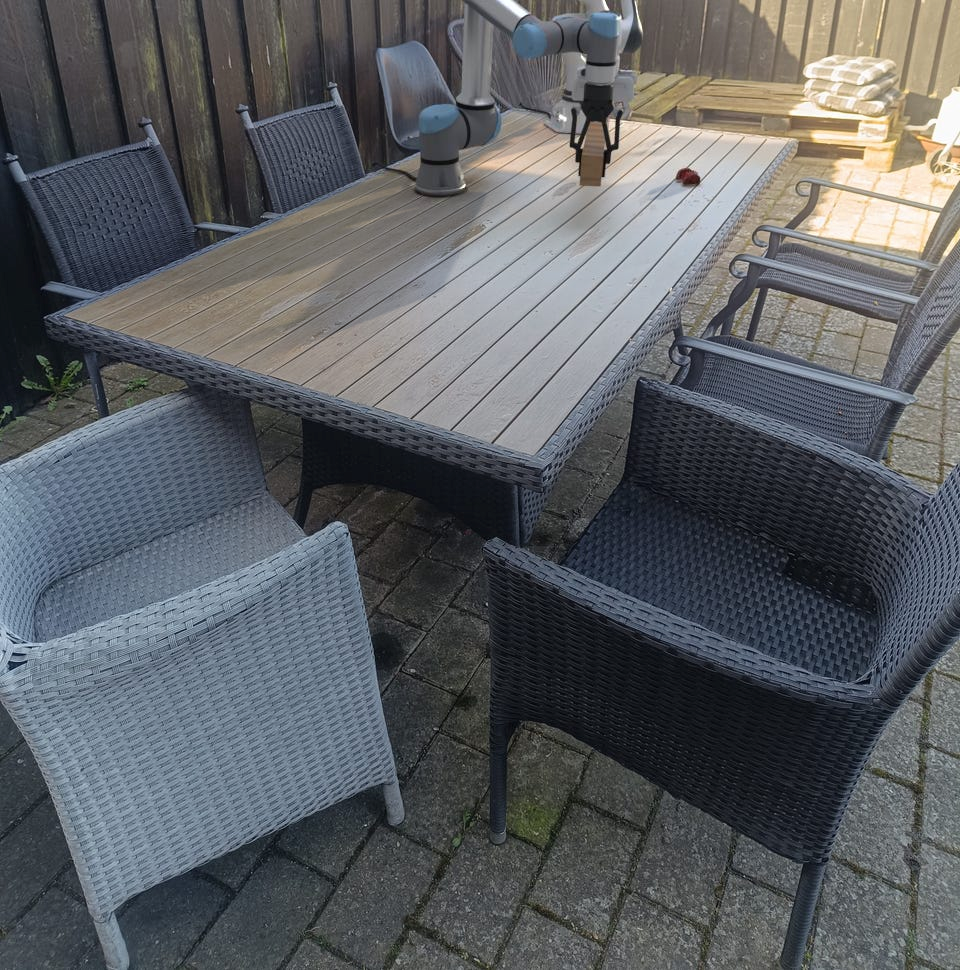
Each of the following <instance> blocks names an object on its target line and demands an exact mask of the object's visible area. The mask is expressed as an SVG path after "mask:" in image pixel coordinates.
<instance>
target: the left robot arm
mask: <svg viewBox="0 0 960 970" xmlns="http://www.w3.org/2000/svg"><path fill="white" fill-rule="evenodd" d="M461 2H464V4H463V5H464V6H463V27H462V28H463V30H462V31H463V32H462V61H461V62H462V63H461V65H462V66H461V90H460V91H461V92H460V94H458V95H457V96H456V98H455V104H453V103H452V104H451V103H441V104H434V105H430V106H428V107H426V108H424V109H422V110H421V111H420V112H419V116H418V132H419V133H418V134H419V157H420V158H419V159H420V161H419V162H420V164H419V168H418V172H417V176H416V177H415V176H414V175H412V174H411V173H410V172H408V171H406V170H402V169H398V168H393V167H392V168H391V167H388V166H385V165H384V164H382V163H381V162H378V161H375V162H373V163H372V164H371V167H375V166H376V165H378V166H379V167H381V168H383V169H384V170H387V171H390V172H395V173H401V174H404V175H406V176H408V177H409V178H410V179H412V180H414V181H415V183H414V184H415V185H414V186H415V192H417V193H418V194H420V195H424V196H430V197H450V196H455V195H459V194H461V193H463V192H464V191H466V181H465V179H464V178H465V176H464V173H463V172H462V169H461V165H460V151H462V150H466V149H471V148H476V147H484V146H485V145H487V144H488V145H489V144H491V143H492V142H494V141H495V140H496V139H497V138H498V137H499V134H500V132H501V129H502V122H503V121H502V114H501V113H500V108H499V107H498V105H497V104H495V101H496V100H495V98H494V97H493V95H491V82H492V66H493V65H492V63H493V44H494V27H495V28H496V29H498V31H499V32H501V33H502V34H504V35H505V36H507V37H508V38H509V39H510V40H511V41H512V46H513V49H514V50H515V53H516V54H517V56H518V57H520V58H522V59H537V58H541V57H547V56H553V55H554V56H555V55H561V53H568V52H577V53H582V55H585V56H586V57H585V58H586V70H585V81H587V82H586V83H585V84H584V97H583V102H582V104H581V105H580V106H577V107H575V106H573V107H572V109H571V113H572V127H571V133H570V135H569V136H570V137H569V145H568V146H569V148H571V149H574V150H575V158H574V162H575V163H576V164H578V174H577V175H578V176H577V177H580V171H581V158H582V152H583V148H582V146H583V144H584V142H585V138H586V132H587V130H588V127H589V124H590V122H595V121H597V122H602V127H603V132H604V137H605V142H606V150H604V159H603V170H602V179H603V178H605V177H606V166H607V165H610V164H611V162H612V161H611V160H612V153H613V151H617V150H619V148H620V132H621V131H620V129H621V119H622V117H623V114H624V109H623V108H622V107H620V108H619V107H617V108H616V107H615V105H614V102H613V90H614V85H613V83H612V82H614V79H615V69H616V55H617V46H618V38H619V17H618V15H616V14H614V13H604V12H600V13H593V14H591V15H590V18H589V21H588V20H583V19H577V18H573V17H559V18H557V19H556V20H555V21H551V20H548V21H543V20H541V19H539V18H538V17H536V16H535V15H533V14H532V13H531V12H530V11H529V10H527V9H526V8H524V7H523V6H522V5H521V4H519V3H518V2H517V1H515V0H461ZM581 110H582V111H583V113H584V115H585V116H586V120H585V123H584V126H583V129H582V132H581V134H579V138H578V140H577V142H575V141H576V126H577V116H578V115H579V114H580V111H581ZM612 111H613V112H614V116H613V117H614V118H615V120H614V121H615V123H614V140H613V141H614V142H613V144H612V141H611V136H610V129H609V128H608V124H607V117H608V116H609V115H610V113H611V112H612Z"/></svg>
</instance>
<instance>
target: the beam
mask: <svg viewBox="0 0 960 970" xmlns="http://www.w3.org/2000/svg"><path fill="white" fill-rule="evenodd" d="M610 120H611V116H610V115H609V116H608V117H607V124H608V129H609V128H610ZM582 149H583V152H582V158H581V171H580V176H579V186H585V187H602V180H603V177H602V170H603V159H604V150H607V148H606V142H605V137H604V132H603V127H602V122H597V121H595V122H590V124H589V127H588V130H587V133H586V135H585V138H584V141H583V148H582Z"/></svg>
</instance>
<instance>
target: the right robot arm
mask: <svg viewBox="0 0 960 970" xmlns="http://www.w3.org/2000/svg"><path fill="white" fill-rule="evenodd" d="M577 1H578V2H579V3H581V4H583V5H584V6H585V12H582V13H581V12H579V13H577V12H576V13H563V14H559V15H555V16H553V17H552V19H551V20H550V21H555V20H556V19H557V18H559V17H573V18H577V19H583V20H588V21H589V18H590V15H591V14H593V13H600V12H604V13H614V14H616V15H618V17H619V38H618V46H617V55H616V69H615V79H614V82H612V83H613V85H614V90H613V105H614V107H616V108H619V103H632V102H633V101H634V100H635V86H636V84H637V80H638V75H637V73H636V72H635V71H634V70H632V69H629V70H626V69H620V60H621V57H620V54H622V55H630V56H631V55H633V54H635V53H636V52H637V51H638V50H639V49H640V48H641V47H642V44H643V39H644V38H643V37H644V33H643V28H642V23H641V20H640V16H639V12H638V7H637V2H636V1H637V0H619V1H620V7H621V9H622V11H621V12H622V15H621V13H620V12H618V11H616V10H610V8H609V7H608V5H607V3H606V0H577ZM622 16H623V18H622ZM560 55H561V56H562V59H563V63H564V68H565V88H563V91H561V94H562V96H561V100H560V101H558V103H556V104H555V105H554V106H553V107H552V109H551V112H549V111H546V110H540V109H536V108H531V107H527V106H525V105H524V103H523V101H520V102H519V104H518V106H519V107H521V108H522V110H523V109H524V110H526V111H530V112H534V113H539V114H543V115H544V114H545V115H548V117H549V119H547V120H545V121H544V123H543V124H544V125H545V126H546V127H548V128H549V129H551V130H552V131H554V132H556V133H562V134H563V133H564V134H565V133H566V134H571V127H572V113H571V109H572V107H573V106H575V107H577V106H580V105H581V104H582V102H583V97H584V84H585V83H586V82H587V81H585V70H586V57H585V56H583V53H577V52H568V53H561V54H560ZM610 117H614V112H613V111H612V112H611V113H610ZM585 120H586V116H585V115H584V113H583V111H582V110H581V111H580V114H579V115H578V116H577V126H576V134H579V135H581V132H582V129H583V126H584V123H585ZM586 133H587V132H586ZM576 134H575V135H576Z"/></svg>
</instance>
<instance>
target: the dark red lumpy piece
mask: <svg viewBox="0 0 960 970" xmlns="http://www.w3.org/2000/svg"><path fill="white" fill-rule="evenodd" d="M675 181H682V182H681V183H682V185H683V186H689V185H690V186H691V185H700V184H701V176H700V175H699V172H698V171H696V170H693V169H691V168H689V167H683V168H681V169H679V170H678V171H677V172H676V175H675Z"/></svg>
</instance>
